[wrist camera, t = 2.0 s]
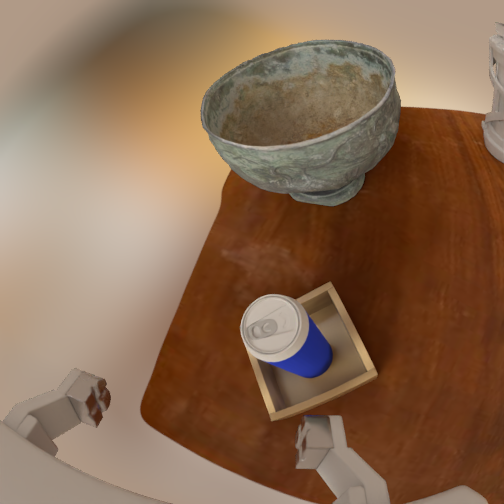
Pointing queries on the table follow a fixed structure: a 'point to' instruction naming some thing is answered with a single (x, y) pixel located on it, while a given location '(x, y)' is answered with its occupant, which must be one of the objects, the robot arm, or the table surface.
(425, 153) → the table surface
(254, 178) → the decorative bowl
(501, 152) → the lantern
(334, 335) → the wooden tray
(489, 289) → the table surface
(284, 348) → the beverage can
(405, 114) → the table surface
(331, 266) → the table surface
